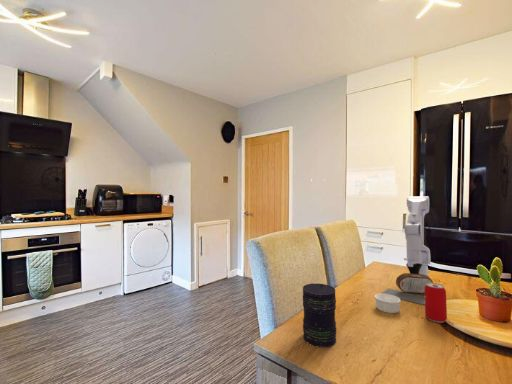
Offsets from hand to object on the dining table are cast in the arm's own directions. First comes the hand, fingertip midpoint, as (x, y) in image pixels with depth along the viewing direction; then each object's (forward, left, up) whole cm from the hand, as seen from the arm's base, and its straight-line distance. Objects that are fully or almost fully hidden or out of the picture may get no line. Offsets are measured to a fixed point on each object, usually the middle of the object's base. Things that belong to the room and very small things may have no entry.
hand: (414, 279), depth 116 cm
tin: (+2, 0, -5) cm, 6 cm away
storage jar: (+65, -11, -6) cm, 66 cm away
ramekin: (+28, -3, -6) cm, 29 cm away
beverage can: (+26, +12, -6) cm, 29 cm away
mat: (+9, 0, -5) cm, 11 cm away
